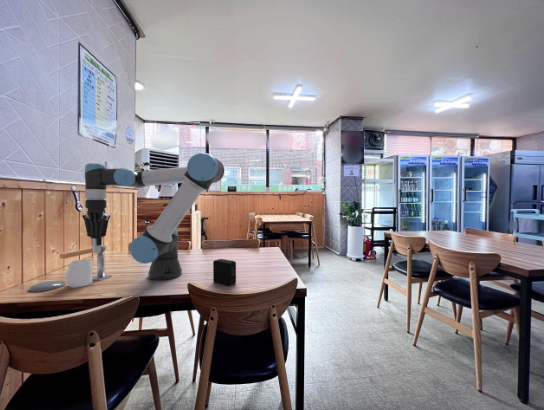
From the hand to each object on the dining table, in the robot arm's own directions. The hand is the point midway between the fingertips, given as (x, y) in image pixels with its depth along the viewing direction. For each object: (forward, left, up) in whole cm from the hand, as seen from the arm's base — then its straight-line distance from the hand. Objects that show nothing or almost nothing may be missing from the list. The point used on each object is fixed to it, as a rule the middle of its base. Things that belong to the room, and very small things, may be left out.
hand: (96, 252), depth 106 cm
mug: (+6, +4, -14) cm, 16 cm away
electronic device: (-54, -15, -14) cm, 58 cm away
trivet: (+17, +8, -14) cm, 23 cm away
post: (+6, -7, -14) cm, 17 cm away
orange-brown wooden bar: (+6, +1, -1) cm, 6 cm away
